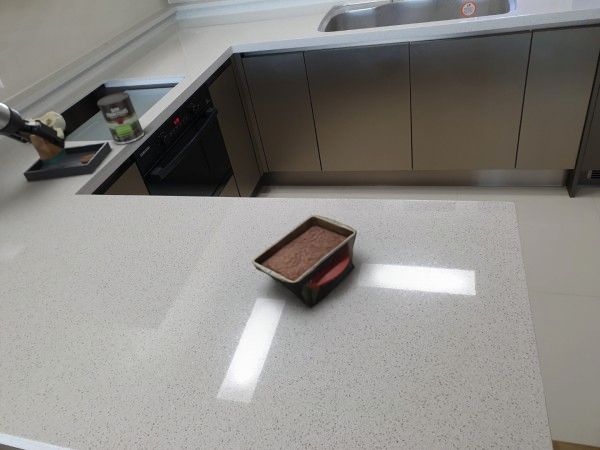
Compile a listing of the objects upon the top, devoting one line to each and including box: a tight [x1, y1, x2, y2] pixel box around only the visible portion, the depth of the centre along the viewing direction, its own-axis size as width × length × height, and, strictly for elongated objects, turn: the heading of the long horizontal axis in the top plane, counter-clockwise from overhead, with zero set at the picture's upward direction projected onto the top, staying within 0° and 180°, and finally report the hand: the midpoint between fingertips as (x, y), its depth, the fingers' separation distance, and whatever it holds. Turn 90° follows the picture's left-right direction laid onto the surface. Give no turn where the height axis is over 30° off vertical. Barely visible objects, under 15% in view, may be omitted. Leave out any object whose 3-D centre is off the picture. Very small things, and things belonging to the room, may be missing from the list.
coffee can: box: [96, 92, 145, 145], centre depth 154 cm, size 10×10×14 cm
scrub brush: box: [29, 125, 67, 165], centre depth 143 cm, size 4×7×10 cm, turn 176°
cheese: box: [24, 110, 67, 139], centre depth 169 cm, size 15×7×15 cm
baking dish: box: [251, 214, 358, 309], centre depth 84 cm, size 14×18×10 cm
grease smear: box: [81, 154, 95, 164], centre depth 145 cm, size 5×5×1 cm
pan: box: [22, 141, 113, 182], centre depth 146 cm, size 22×16×3 cm
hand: (56, 144), depth 147 cm, fingers closed on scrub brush, 4 cm apart
